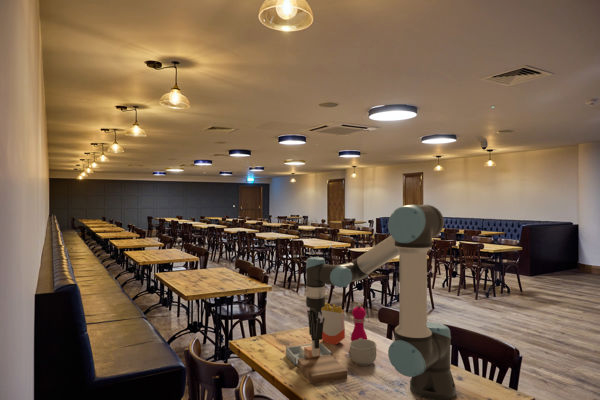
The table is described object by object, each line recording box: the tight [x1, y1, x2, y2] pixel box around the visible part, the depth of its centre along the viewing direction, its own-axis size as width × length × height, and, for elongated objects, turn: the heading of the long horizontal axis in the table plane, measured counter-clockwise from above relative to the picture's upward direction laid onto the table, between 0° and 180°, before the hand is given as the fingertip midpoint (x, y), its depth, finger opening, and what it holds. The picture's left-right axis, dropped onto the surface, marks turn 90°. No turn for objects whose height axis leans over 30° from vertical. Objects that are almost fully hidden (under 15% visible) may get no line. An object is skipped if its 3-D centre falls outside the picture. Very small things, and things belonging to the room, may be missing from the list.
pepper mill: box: [350, 303, 368, 342], centre depth 178 cm, size 7×7×20 cm
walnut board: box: [297, 355, 348, 385], centre depth 154 cm, size 16×14×3 cm
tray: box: [285, 342, 333, 367], centre depth 168 cm, size 12×16×4 cm
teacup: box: [348, 338, 377, 367], centre depth 164 cm, size 14×11×8 cm
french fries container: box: [321, 302, 346, 346], centre depth 186 cm, size 5×11×18 cm, turn 58°
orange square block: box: [304, 346, 320, 358], centre depth 164 cm, size 5×5×3 cm
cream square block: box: [300, 345, 312, 358], centre depth 168 cm, size 5×5×3 cm
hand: (315, 355), depth 160 cm, fingers closed
